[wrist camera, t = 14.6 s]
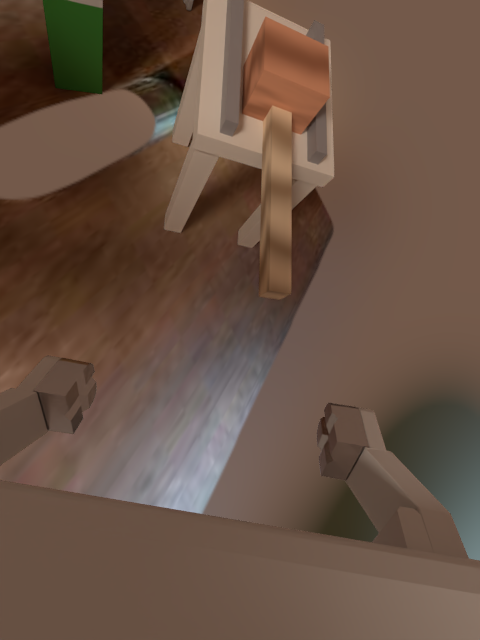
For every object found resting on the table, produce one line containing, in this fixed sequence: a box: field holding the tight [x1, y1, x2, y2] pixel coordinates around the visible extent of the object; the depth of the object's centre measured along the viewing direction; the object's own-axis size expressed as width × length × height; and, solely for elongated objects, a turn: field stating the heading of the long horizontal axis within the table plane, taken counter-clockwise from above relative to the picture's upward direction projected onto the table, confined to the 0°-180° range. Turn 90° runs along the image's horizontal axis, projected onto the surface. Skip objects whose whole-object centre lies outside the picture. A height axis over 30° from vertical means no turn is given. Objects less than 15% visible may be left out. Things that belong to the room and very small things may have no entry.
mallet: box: [242, 16, 330, 300], centre depth 37 cm, size 29×8×6 cm, turn 178°
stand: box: [164, 0, 334, 248], centre depth 53 cm, size 22×18×27 cm
